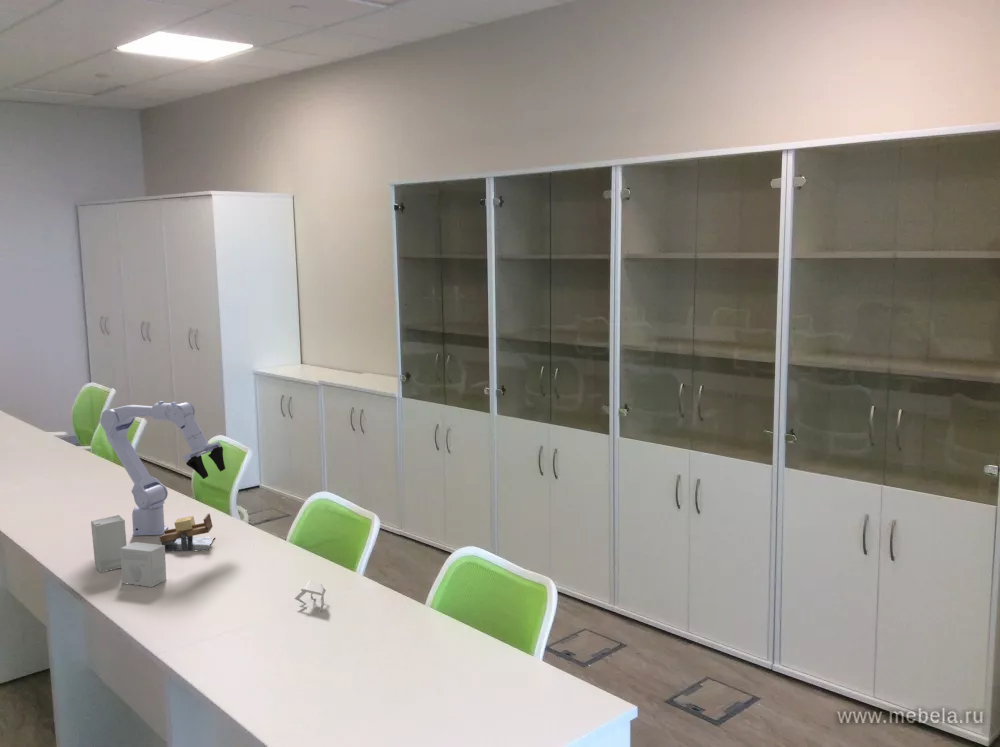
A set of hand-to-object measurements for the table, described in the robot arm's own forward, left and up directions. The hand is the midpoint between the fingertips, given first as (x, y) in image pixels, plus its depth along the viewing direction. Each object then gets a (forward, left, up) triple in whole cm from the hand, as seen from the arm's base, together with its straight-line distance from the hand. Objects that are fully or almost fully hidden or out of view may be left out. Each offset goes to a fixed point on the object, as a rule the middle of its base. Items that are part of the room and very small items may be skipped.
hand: (214, 473), depth 272 cm
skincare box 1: (-26, -22, -22) cm, 41 cm away
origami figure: (+37, -56, -23) cm, 70 cm away
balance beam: (-8, -4, -20) cm, 22 cm away
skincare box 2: (-13, -34, -23) cm, 43 cm away
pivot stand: (-9, -4, -22) cm, 24 cm away
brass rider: (-9, -4, -18) cm, 20 cm away
